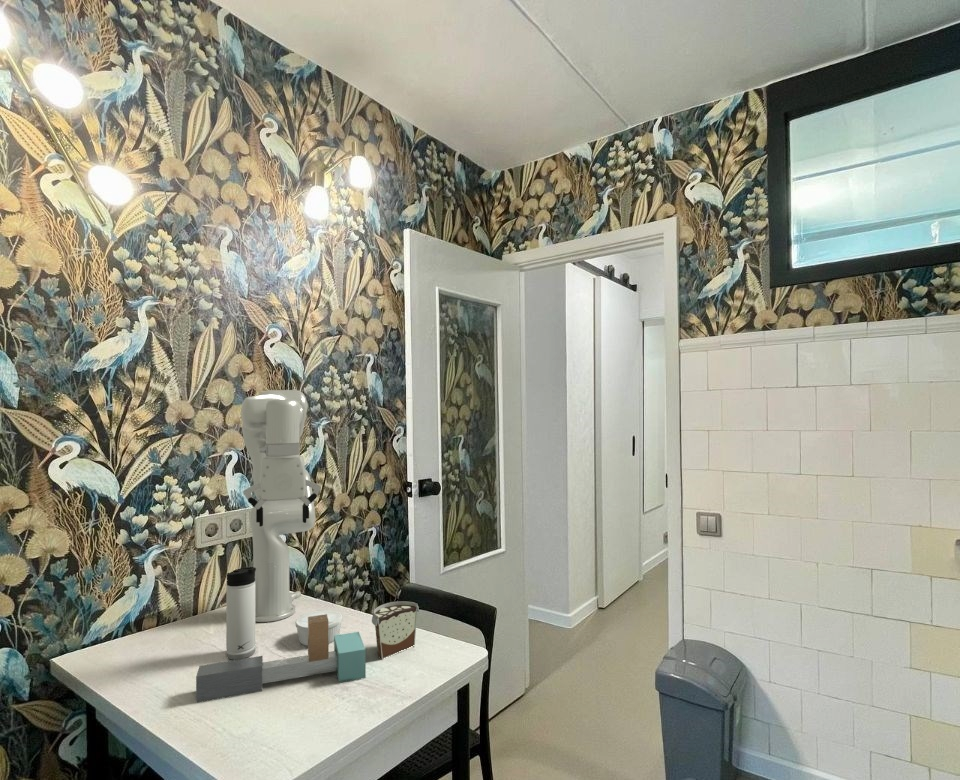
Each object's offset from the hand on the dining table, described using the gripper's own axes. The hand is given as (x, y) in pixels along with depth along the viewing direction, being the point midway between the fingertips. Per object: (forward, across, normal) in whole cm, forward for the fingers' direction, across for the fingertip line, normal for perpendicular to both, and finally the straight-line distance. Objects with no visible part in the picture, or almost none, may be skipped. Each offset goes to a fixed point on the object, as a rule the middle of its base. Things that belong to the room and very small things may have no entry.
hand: (283, 523), depth 130 cm
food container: (+31, +24, -7) cm, 39 cm away
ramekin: (+31, +8, +6) cm, 32 cm away
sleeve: (+30, -10, -14) cm, 35 cm away
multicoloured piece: (+29, +3, -14) cm, 33 cm away
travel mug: (+31, -9, +4) cm, 32 cm away
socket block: (+30, +13, -14) cm, 36 cm away
